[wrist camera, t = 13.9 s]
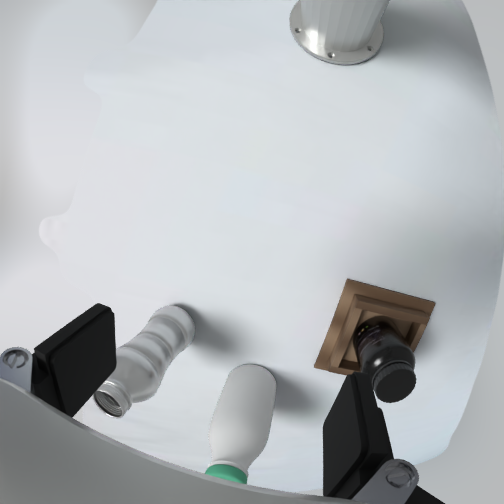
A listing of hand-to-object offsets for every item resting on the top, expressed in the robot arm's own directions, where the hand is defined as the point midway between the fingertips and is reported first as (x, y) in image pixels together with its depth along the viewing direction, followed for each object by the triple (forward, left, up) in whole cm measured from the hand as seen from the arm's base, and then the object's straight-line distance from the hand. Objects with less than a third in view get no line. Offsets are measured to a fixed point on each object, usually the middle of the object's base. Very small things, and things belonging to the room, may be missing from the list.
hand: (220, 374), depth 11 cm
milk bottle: (+23, +2, -29) cm, 37 cm away
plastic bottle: (+16, -11, -29) cm, 34 cm away
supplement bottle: (+10, +17, -28) cm, 34 cm away
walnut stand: (+10, +17, -28) cm, 35 cm away
